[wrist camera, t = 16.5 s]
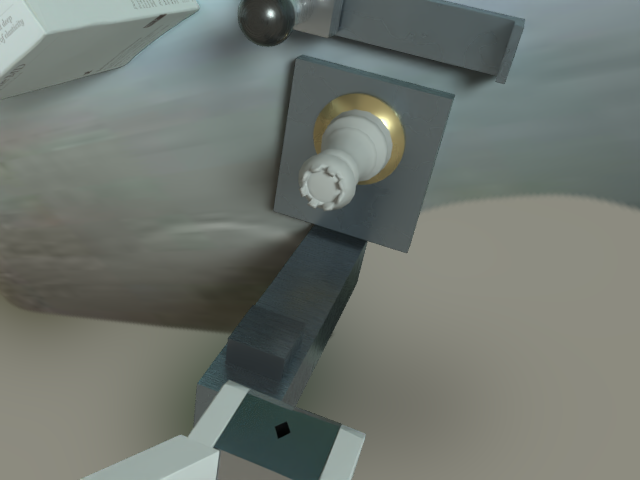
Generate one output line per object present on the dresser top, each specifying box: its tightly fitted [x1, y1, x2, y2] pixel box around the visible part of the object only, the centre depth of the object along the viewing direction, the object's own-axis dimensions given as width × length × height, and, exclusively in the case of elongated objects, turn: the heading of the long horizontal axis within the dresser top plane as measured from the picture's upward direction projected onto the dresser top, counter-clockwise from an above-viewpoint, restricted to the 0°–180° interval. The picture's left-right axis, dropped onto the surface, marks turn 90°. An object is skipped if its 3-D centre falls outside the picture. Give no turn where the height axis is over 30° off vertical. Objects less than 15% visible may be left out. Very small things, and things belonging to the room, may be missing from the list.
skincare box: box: [0, 0, 200, 100], centre depth 33 cm, size 8×6×15 cm
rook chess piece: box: [298, 109, 393, 211], centre depth 34 cm, size 4×4×8 cm
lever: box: [238, 0, 343, 47], centre depth 31 cm, size 4×3×8 cm
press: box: [193, 0, 525, 428], centre depth 32 cm, size 15×20×18 cm
